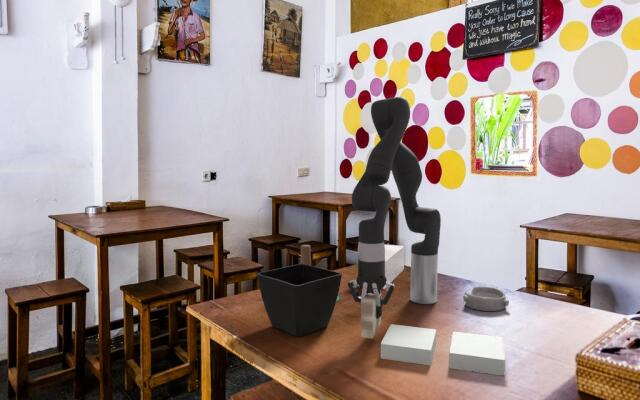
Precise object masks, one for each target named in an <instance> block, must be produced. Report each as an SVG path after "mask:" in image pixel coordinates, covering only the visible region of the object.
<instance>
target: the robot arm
mask: <svg viewBox="0 0 640 400" xmlns="http://www.w3.org/2000/svg"><path fill="white" fill-rule="evenodd" d="M370 115H371V120H372V123H373V126H374V128H375V131H376V133H377V135H378V137H379V139H380V140H379V141H378V142H377V144H376V145H375V146H374V147H373V148H372V149H371V152H370V153H369V156H368V159H367V162H366V166H365V170H364V172H363V174H362V175H361V178H360V179H359V180H358V182H357V183H356V185H355V187H354V189H353V191H352V194H351V205H352V207H353V208H354V210H356V211H359V212H375V215H374V217H373V218H367V219H363V220H361V221H360V222H359V223H358V245H357V256H356V257H357V277H356V279H351V280H349V281H348V283H347V287H348V289H349V291H350V293H351V296H352V298H353V300H354V302H355V303H359V304H361V301H362V300H363V299H364V297H366V295H367V294H368V293H372V294H374V296H375V298H376V305H377V306H376V319H379V317H381V318H382V314H383V306H386V305H387V304H388V302H389V301H390V299H391V297H392V294H393V293H394V290H395V288H396V284H395V283H392V282H391V283H389V282H387V279H386V277H385V246H384V244H385V224H386V218H387V215H388V213H389V212H388V211H389V207H390V205H391V202H392V201H391V200H392V195H391V192H390V190H389V188H388V187H386V186H383V185H385V184H387V183H388V182H389V180H390V176H391V174H392V176H393V179H394V182H395V185H396V188H397V190H398V194H399V197H400V201H401V205H402V208H403V214H404V219H405V223H406V226H407V228H408V230H409V231H410V232H411V233H414V234H422V235H424V238H423V240H422V241H418V242H417V241H416V242H414V243H412V245H411V247H410V291H409V292H410V294H409V295H410V301H411V302H412V303H415V304H421V305H432V304H435V303H437V301H438V300H437V299H438V268H439V267H438V264H439V263H438V262H439V259H438V258H439V257H438V256H439V246H440V240H441V239H440V236H441V225H442V224H441V223H442V218H441V213H440V211H439V210H438V209H437V208H434V207H421V206H419V204H418V201H417V193H418V191H419V188H420V186H421V184H422V181H423V172H422V170H421V169H422V167H421V164H420V161H419V159H418V157H417V156H416V154H415V153H414V152H413V151H412V149H410V148H409V147H407V146H406V144H404V143H403V142H402V140H403V137H404V135H405V133H406V130H407V127H408V125H409V123H410V120H411V107H410V103H409V101H408V99H406V98H405V96H395V97H389V98H384V99H379V100H376V101H373V103H372V104H371V106H370ZM358 285H359V286H358ZM385 285H386V288H385V290H386V291H387V292H386V295H385V296H384V298H383V297H382V290H383V289H382V288H383V287H384V286H385ZM357 287H360V289H361V291H362V292H361V295H360V292H359V290H358V288H357Z"/></svg>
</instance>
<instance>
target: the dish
mask: <svg viewBox="0 0 640 400" xmlns="http://www.w3.org/2000/svg"><path fill="white" fill-rule="evenodd" d="M462 297H463V302H465V305H466V306H467V307H468V308H469V309H473V310H475V311H476V310H477V311H484V312H496V311H497V312H498V311H502V310H504V309H505V308H506V307H508V306H509V304H510V300H509V299H507V298H506V292H504V291H503V290H501V289H498V288H496V287H491V286H474V287H473V288H472V290H471V292H470V293H468V291H465V292H464V294H463V296H462Z"/></svg>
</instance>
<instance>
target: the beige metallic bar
mask: <svg viewBox="0 0 640 400" xmlns="http://www.w3.org/2000/svg"><path fill="white" fill-rule="evenodd" d="M376 306H377V305H376V298H375V296H374V294H372V293H368V294H367V295H366V297H364V299H363V300H362V301H361V303H360V310H361V311H360V312H361V313H360V317H361V319H360V321H361V322H360V325H361V326H360V328H361V333H360V334H361V335H360V336H361V338H364V339H373V338H374V336H375V334H376V332H377V331H378V329H379V327H380V325H381V324H382V316H381V317H379V319H376Z"/></svg>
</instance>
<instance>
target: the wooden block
mask: <svg viewBox="0 0 640 400" xmlns="http://www.w3.org/2000/svg"><path fill="white" fill-rule="evenodd" d="M300 264H306V265H310V266H312V263H311V245H310V244H302V245H300ZM314 267H318V268H323V269H327V270H328V258H327V257H325V258H322V259H320V261H319V262H318V263H317V264H316V265H315V266H314Z"/></svg>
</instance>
